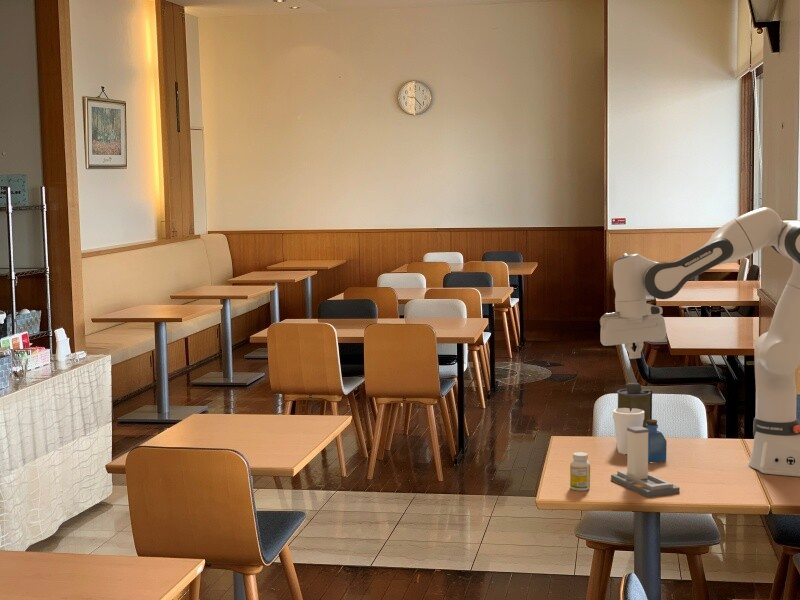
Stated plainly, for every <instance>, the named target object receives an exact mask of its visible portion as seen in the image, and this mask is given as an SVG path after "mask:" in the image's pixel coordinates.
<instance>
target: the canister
mask: <svg viewBox="0 0 800 600" xmlns="http://www.w3.org/2000/svg"><path fill="white" fill-rule="evenodd" d="M624 385H625V386H626V388H622V389H621V388H620V389H618V390H617V391H616V393H617V408H630V412H631V410H632V408H635V409H641V410H644V420H643V427H644V428H646V424H647V420H649V419H653V390H651V389H649V388H648V389H643V388H642V387H641V384H640V383H638V382H626V383H625V384H624Z"/></svg>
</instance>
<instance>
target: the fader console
mask: <svg viewBox="0 0 800 600" xmlns="http://www.w3.org/2000/svg"><path fill="white" fill-rule="evenodd" d="M616 472H617V473H615V474H614V473H613V474H611V476H610V480H611V481H613V482H614V481H615V483H616V482H617V483H616V484H619V485H621V486H623V487H625V488H626V489H629V490H631V491H633V492H636V493H638V494H640V495H642V496H643V497H646V498H651V497H653V498H654V497H659V496H667V495H675V494H674V493H676V494H680V492H681V491H680V489H681V488H680V487H679V486H677V485H675V484H673V483H672V482H670V481H667V480H665V479H662V478H660V477H658V476H657V475H656V476H655V475H654V474H651V473H649V472H648V478H647V479H638V478H636V477H633V476H631V475H629V474H627V470H623V471H622V470H617V471H616Z"/></svg>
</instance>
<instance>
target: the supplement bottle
mask: <svg viewBox="0 0 800 600" xmlns="http://www.w3.org/2000/svg"><path fill="white" fill-rule="evenodd" d="M588 456H589V455H588V453H586V452H581V451H580V452H579V451H578V452H576V451H575V452H574V453H572V459H573V460H571V461H570V464H569V465H570V466H569V471H570V472H569V474H570V475H569V481H570V482H569V486H570V489H571V490H572V491H579V492H580V491H581V492H582V491H583V492H584V491H588V490H590V488H591V463H590V461H588V459H589V457H588Z"/></svg>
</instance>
